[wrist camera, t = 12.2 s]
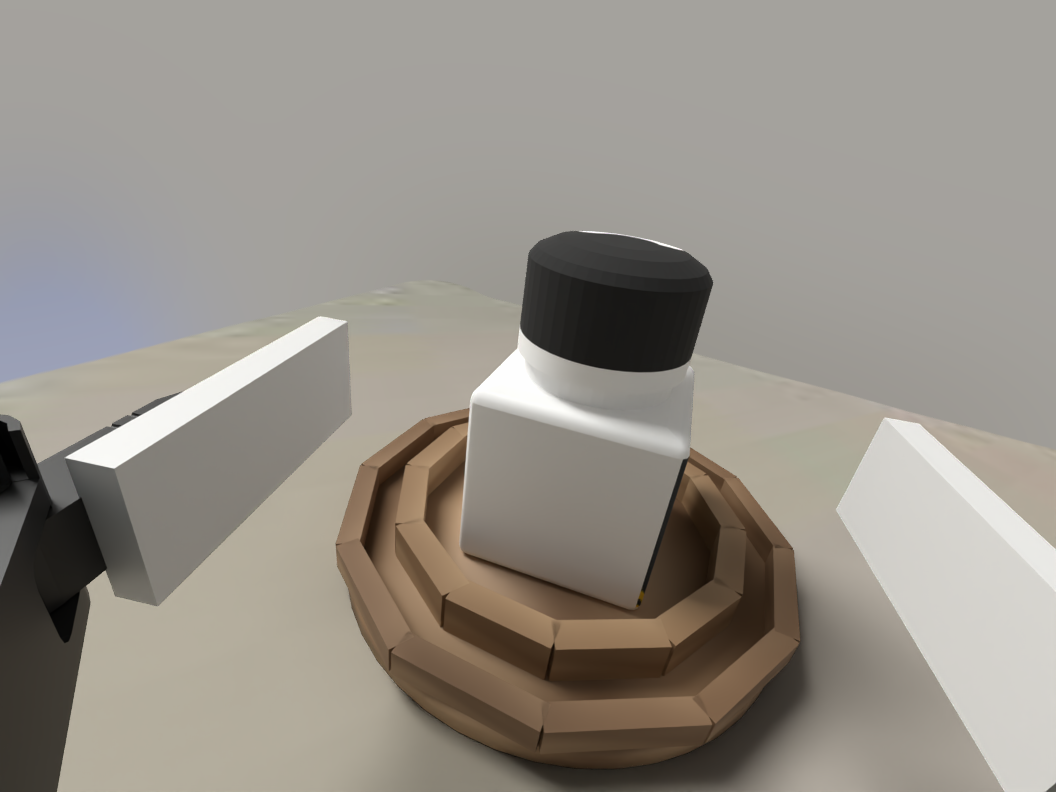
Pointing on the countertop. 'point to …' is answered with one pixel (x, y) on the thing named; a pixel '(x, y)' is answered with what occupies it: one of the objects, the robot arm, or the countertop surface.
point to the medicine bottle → (587, 416)
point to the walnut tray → (566, 616)
